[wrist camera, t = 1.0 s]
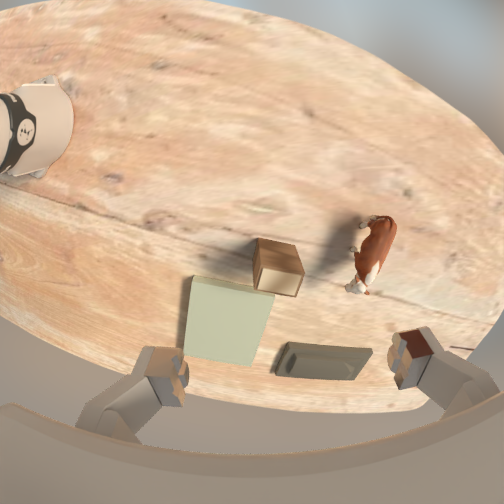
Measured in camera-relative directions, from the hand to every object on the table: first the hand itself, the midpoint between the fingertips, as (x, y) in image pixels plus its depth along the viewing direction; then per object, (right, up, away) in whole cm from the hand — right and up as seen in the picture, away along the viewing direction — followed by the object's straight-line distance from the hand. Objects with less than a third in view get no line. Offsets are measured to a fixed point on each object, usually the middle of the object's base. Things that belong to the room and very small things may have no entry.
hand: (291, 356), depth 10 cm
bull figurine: (+17, +6, +35) cm, 39 cm away
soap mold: (+14, -20, +48) cm, 53 cm away
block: (+2, +4, +35) cm, 36 cm away
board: (-6, -9, +41) cm, 43 cm away
